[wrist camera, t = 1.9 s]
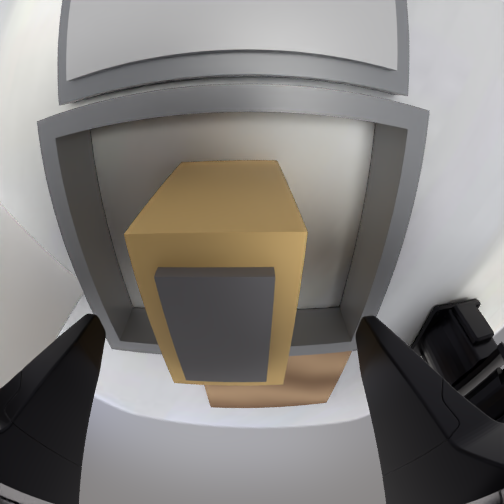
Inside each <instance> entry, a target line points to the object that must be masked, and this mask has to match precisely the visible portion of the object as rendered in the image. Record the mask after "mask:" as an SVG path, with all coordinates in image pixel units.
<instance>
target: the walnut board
mask: <svg viewBox="0 0 504 504" xmlns="http://www.w3.org/2000/svg"><path fill="white" fill-rule="evenodd" d="M351 352H352V351H346V352H337V353H326V354H315V355H301V356H289V357H288V362H287V367H286V372H285V377H284V382H283V384H282V385H254V386H228V385H204V386H205V389H206V393H207V396H208V399H209V403H210V406H211V407H219V408H264V407H285V406H298V405H309V404H318V403H326V402H327V400H328V399H329V397H330V395H331V393H332V391H333V389H334V387H335V385H336V383H337V381H338V379H339V377H340V375H341V373H342V371H343V369H344V367H345V365H346V363H347V361H348V358H349V356H350V354H351Z"/></svg>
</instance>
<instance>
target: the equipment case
mask: <svg viewBox="0 0 504 504" xmlns="http://www.w3.org/2000/svg"><path fill="white" fill-rule="evenodd" d="M235 76H260V77H285V78H299V79H310V80H319V81H327V82H334V83H341V84H347V85H353V86H358V87H364V88H369V89H373V90H378V91H382V92H387V93H391V94H395V95H403V96H408V84H409V26H408V11H407V0H63V1H62V8H61V16H60V26H59V39H58V97H59V105H64V104H69V103H73V102H77V101H80V100H83V99H87V98H90V97H94V96H98V95H101V94H105V93H109V92H114V91H118V90H123V89H127V88H132V87H138V86H143V85H149V84H155V83H162V82H169V81H177V80H186V79H197V78H211V77H235ZM213 112H285V113H302V114H314V115H325V116H334V117H342V118H350V119H356V120H363V121H369V122H375V133H374V142H373V150H372V158H371V165H370V172H369V178H368V185H367V191H366V196H365V202H364V207H363V213H362V218H361V223H360V227H359V232H358V237H357V241H356V246H355V250H354V254H353V259H352V263H351V267H350V271H349V275H348V278H347V282H346V286H345V290H344V293H343V297H342V300H341V304H340V307H338V308H320V309H298V310H297V311H296V317H295V323H294V329H293V335H292V341H291V346H290V352H289V356H301V355H315V354H326V353H337V352H346V351H355V350H357V344H356V338H355V335H356V331H357V328H358V326H359V323H360V321H361V318H362V317H363V316H371V315H373V316H375V317H376V316H377V314H378V311H379V309H380V306H381V304H382V301H383V299H384V296H385V294H386V291H387V288H388V286H389V283H390V280H391V277H392V275H393V272H394V269H395V266H396V263H397V260H398V257H399V254H400V251H401V248H402V244H403V241H404V238H405V234H406V231H407V227H408V224H409V220H410V216H411V212H412V208H413V204H414V200H415V196H416V191H417V187H418V182H419V177H420V172H421V167H422V161H423V156H424V149H425V143H426V136H427V128H428V119H429V111H428V110H425V109H422V108H418V107H415V106H411V105H408V104H404V103H400V102H396V101H392V100H388V99H383V98H379V97H374V96H369V95H364V94H358V93H353V92H346V91H340V90H333V89H325V88H317V87H307V86H295V85H278V84H218V85H202V86H190V87H180V88H171V89H163V90H156V91H150V92H144V93H138V94H133V95H127V96H123V97H118V98H113V99H109V100H105V101H101V102H97V103H93V104H89V105H85V106H82V107H78V108H75V109H72V110H69V111H65V112H62V113H59V114H56V115H53V116H51V117H48V118H45V119H42V120H40V121H37V125H38V134H39V141H40V148H41V154H42V160H43V165H44V170H45V175H46V180H47V184H48V188H49V193H50V197H51V200H52V204H53V208H54V212H55V215H56V219H57V222H58V225H59V228H60V232H61V235H62V238H63V241H64V244H65V247H66V249H67V252H68V255H69V258H70V260H71V263H72V266H73V268H74V271H75V273H76V276H77V278H78V281H79V283H80V285H81V288H82V290H83V292H84V294H85V297H86V299H87V301H88V303H89V305H90V308H91V310H92V312H93V314H95V315H97V316H98V317H99V319H100V321H101V323H102V325H103V327H104V329H105V332H106V339H107V341H108V343H109V345H110V346H111V348H112V349H116V350H124V351H132V352H142V353H152V354H162V353H161V350H160V348H159V345H158V342H157V340H156V337H155V335H154V332H153V329H152V326H151V324H150V321H149V318H148V315H147V312H146V309H145V308H133V306H132V304H131V301H130V298H129V295H128V292H127V290H126V287H125V284H124V281H123V278H122V275H121V271H120V268H119V265H118V262H117V258H116V255H115V252H114V248H113V244H112V241H111V237H110V233H109V229H108V226H107V222H106V217H105V213H104V209H103V204H102V200H101V195H100V190H99V185H98V180H97V174H96V169H95V162H94V156H93V149H92V142H91V134H90V129H93V128H98V127H102V126H107V125H112V124H117V123H123V122H129V121H135V120H141V119H148V118H156V117H164V116H173V115H183V114H196V113H213Z"/></svg>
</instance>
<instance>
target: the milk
mask: <svg viewBox="0 0 504 504" xmlns="http://www.w3.org/2000/svg"><path fill="white" fill-rule="evenodd" d="M83 294H84V292H83V290H82V288H81V285H80V283H79V281H78V278H77V277H75V276H74V275H73V274H72V273H71V272H70V271H68V270H67V269H66V268H65V267H64V266H63V265H62V264H61V263H59V262H58V261H57V260H56V259H55V258H54V257H53V256H52V255H51V254H50V253H48V252H47V251H46V250H45V249H44V248H43V247H42V246H41V245H40V244H39V243H38V242H37V241H36V240H35V239H34V238H33V237H32V236H31V235H30V234H29V233H28V232H27V231H26V230H25V229H24V228H23V227H22V226H21V225H20V224H19V223H18V221H17V220H16V219H15V218H14V217H13V216H12V215H11V214H10V213H9V212H8V211H7V209H6V208H5V207H4V206H3V205H2V204H1V202H0V388H2V387H3V386H4V385H5V384H6V383H8V382H9V381H10V380H11V379H12V378H13V377H14V376H15V375H16V374H17V373H19V372H20V371H21V370H22V369H23V368H24V367H25V366H26V365H27V364H28V363H30V362H31V361H32V360H33V359H34V358H35V357H36V356H37V355H39V354H40V353H41V352H42V351H43V350H44V349H45V348H47V347H48V346H49V345H50V344H51V343H52V342H54V341H55V340H56V338H57V336H58V334H59V333H60V331H61V329H62V328H63V326H64V324H65V322H66V321H67V319H68V317H69V316H70V314H71V313H72V311H73V309H74V308H75V306H76V305H77V303H78V301H79V300H80V298H81V297H82V295H83Z"/></svg>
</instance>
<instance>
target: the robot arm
mask: <svg viewBox="0 0 504 504" xmlns="http://www.w3.org/2000/svg"><path fill="white" fill-rule="evenodd" d="M479 306H480V302H479V300H472V301H467V302H461V303H455V304H449V305H443V306H437V307H435V308H434V309H433V310H432V312H431V314H430V316H429V317H428V319H427V321H426V323H425V325H424V326H423V328H422V330H421V332H420V333H419V335H418V337H417V338H416V340H415V342H414V343H413V345H412V346H411V348H410V347H409V346H408V345H407V344H406V343H405V342H403V341H402V340H401V339H400V338H399V337H398V336H397V335H396V334H395V333H393V332H392V331H391V330H390V329H389V328H388V327H387V326H386V325H384V324H383V323H382V322H381V321H380V320H379V319H378V318H376V317H375V316H373V315H371V316H363V317H362V318H361V321H360V323H359V326H358V328H357V331H356V335H355V338H356V344H357V351H358V357H359V364H360V371H361V377H362V381H363V385H364V389H365V393H366V398H367V402H368V406H369V410H370V415H371V419H372V424H373V428H374V433H375V438H376V443H377V448H378V453H379V459H380V464H381V470H382V475H383V483H384V490H385V497H386V504H504V369H503V370H502V369H501V368H500V367H501V366H502V365H503V364H504V343H503V342H501V343H500V344H499V345H498V346H497V344H496V343H495V341H494V339H493V338H492V337H493V336H494V332H493V330H492V329H491V327H490V326H489V324H488V323H487V321H486V320H485V318H484V317H483V315H482V314H481V312H480V311H479V310H478V308H479ZM105 338H106V332H105V329H104V327H103V325H102V323H101V321H100V319H99V317H98V316H97V315H95V314H86V315H85V316H83V317H82V318H81V319H80V320H79V321H77V322H76V323H75V324H74V325H72V326H71V327H70V328H69V329H68V330H66V331H65V332H64V333H63V334H62V335H61V336H59V337H58V338H57V339H56V340H55V341H54V342H52V343H51V344H50V345H49V346H48V347H47V348H45V349H44V350H43V351H42V352H41V353H40V354H39V355H37V356H36V357H35V358H34V359H33V360H32V361H31V362H30V363H28V364H27V365H26V366H25V367H24V368H23V369H22V370H21V371H20V372H19V373H17V374H16V375H15V376H14V377H13V378H12V379H11V380H10V381H9V382H8V383H6V384H5V385H4V386H3V387H2V388H0V504H79V492H80V479H81V470H82V467H81V466H82V460H83V453H84V446H85V439H86V433H87V427H88V422H89V417H90V412H91V407H92V402H93V398H94V394H95V389H96V385H97V381H98V377H99V372H100V367H101V361H102V354H103V349H104V343H105ZM420 356H422V358H423V359H422V358H421V357H420Z"/></svg>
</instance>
